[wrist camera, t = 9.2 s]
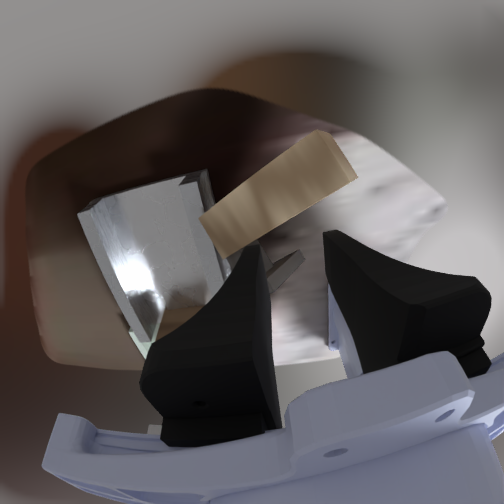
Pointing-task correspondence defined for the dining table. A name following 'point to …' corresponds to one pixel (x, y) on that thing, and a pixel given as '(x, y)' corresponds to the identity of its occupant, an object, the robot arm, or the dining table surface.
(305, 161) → the tan block
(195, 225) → the silver metal tray
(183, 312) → the walnut block
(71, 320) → the dining table surface
